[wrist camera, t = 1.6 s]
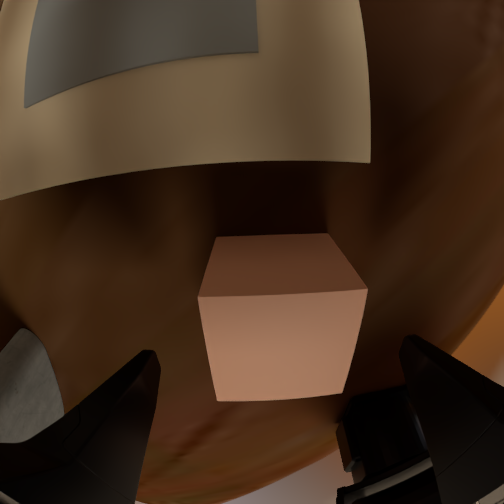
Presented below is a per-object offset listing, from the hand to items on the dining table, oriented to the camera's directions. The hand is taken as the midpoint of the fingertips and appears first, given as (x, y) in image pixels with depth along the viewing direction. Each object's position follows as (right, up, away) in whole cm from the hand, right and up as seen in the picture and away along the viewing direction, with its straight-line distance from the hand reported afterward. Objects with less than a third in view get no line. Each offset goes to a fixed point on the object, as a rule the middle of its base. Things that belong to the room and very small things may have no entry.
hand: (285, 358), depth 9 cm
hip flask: (-21, -9, +9) cm, 24 cm away
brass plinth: (-6, +15, -1) cm, 16 cm away
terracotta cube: (0, +2, +5) cm, 5 cm away
